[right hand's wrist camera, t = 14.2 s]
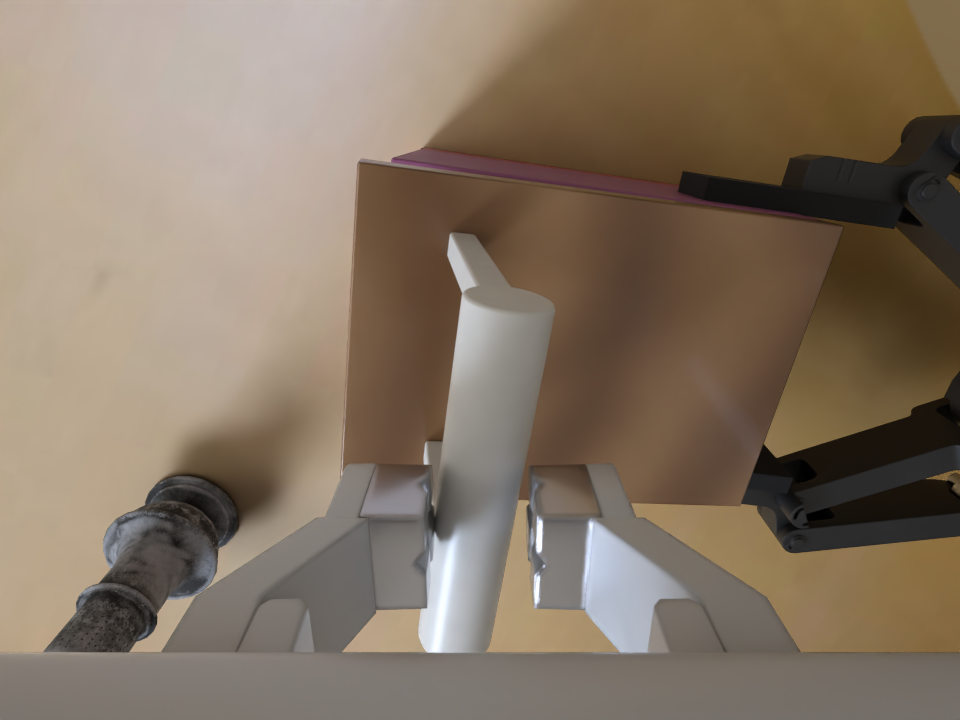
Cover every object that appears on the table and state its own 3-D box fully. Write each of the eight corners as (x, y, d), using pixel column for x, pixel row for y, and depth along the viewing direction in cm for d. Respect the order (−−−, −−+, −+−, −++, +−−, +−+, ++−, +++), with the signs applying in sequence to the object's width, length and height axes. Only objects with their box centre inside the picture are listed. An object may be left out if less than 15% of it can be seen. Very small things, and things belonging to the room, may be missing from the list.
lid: (342, 475, 19) (308, 717, 11) (359, 158, 15) (328, 201, 8) (724, 488, 21) (906, 692, 14) (819, 219, 18) (1140, 298, 10)
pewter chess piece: (149, 457, 32) (-30, 634, 21) (253, 490, 33) (133, 678, 22) (133, 536, 34) (-38, 735, 23) (231, 566, 35) (111, 772, 24)
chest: (404, 349, 30) (369, 443, 21) (423, 147, 26) (391, 156, 17) (655, 382, 30) (725, 488, 21) (709, 189, 26) (821, 219, 18)
